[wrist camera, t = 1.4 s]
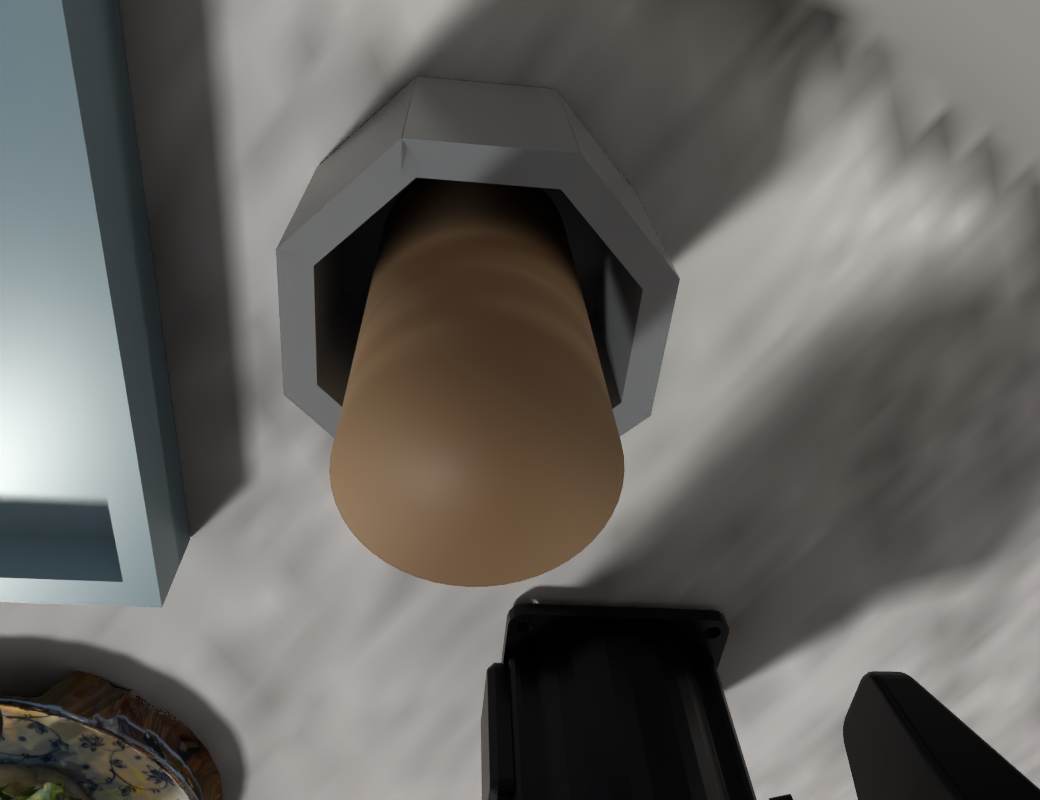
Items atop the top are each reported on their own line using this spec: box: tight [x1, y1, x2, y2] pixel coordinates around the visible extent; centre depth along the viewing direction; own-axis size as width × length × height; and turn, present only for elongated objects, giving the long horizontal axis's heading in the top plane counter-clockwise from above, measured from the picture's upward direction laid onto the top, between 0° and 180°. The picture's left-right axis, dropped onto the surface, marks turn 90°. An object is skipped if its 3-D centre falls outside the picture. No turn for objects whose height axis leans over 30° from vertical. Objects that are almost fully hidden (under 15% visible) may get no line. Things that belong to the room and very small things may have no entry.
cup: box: [276, 76, 680, 438], centre depth 17 cm, size 7×7×4 cm
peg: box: [330, 178, 624, 587], centre depth 15 cm, size 4×4×8 cm
